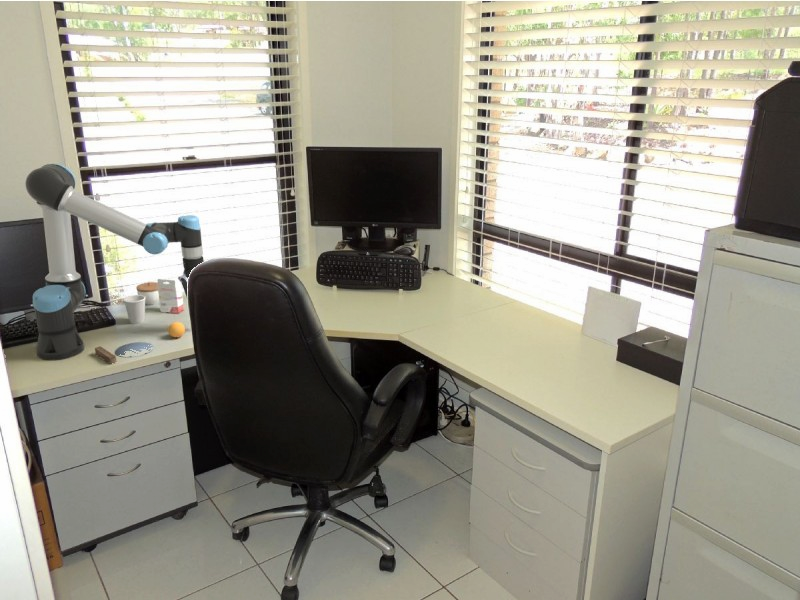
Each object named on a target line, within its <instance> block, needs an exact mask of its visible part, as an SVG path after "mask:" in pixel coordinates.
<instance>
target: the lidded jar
mask: <svg viewBox="0 0 800 600" xmlns="http://www.w3.org/2000/svg"><path fill="white" fill-rule="evenodd" d="M136 292H137V295H143V296H145V297H146V299H145V306H151V305H157V304H160V302H159V293H158V281H156V282H154V281H153V282H152V281H148V282H144V283H140V284H138V285H136Z"/></svg>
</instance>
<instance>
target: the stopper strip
mask: <svg viewBox="0 0 800 600" xmlns="http://www.w3.org/2000/svg"><path fill="white" fill-rule="evenodd" d="M94 351H95V356H97V355H98V356H97V357H99V358H100V357H101V359H102V360H103V359H104V361H105V362H106V361H107V363H108V362H109V363H110V365H113V364H112V363H114V364H116V363H115V362H117V355H116V354H115V355H114V353H112V352H110V351H109V350H107V349H105V348H103V347H102V346H98V347H94ZM109 363H108V364H109Z"/></svg>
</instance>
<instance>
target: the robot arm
mask: <svg viewBox="0 0 800 600" xmlns="http://www.w3.org/2000/svg"><path fill="white" fill-rule="evenodd" d="M76 183H77V182H76V177H75V175H74V173H73V172H72V170H70V169H69V168H68V167H67V166H65V165H63V164H60V163H47V164H44V165H43V166H41V167H38V168H35V169H33V170H31V171H30V173H29V174H28V175H27V176H26V179H25V189H26V192H27V193H28V195H29V196H30V197H31V199H33V200H34V201H36V204H37V205H38V206H39V207H41V209H42V217H43V227H44V235H45V245H46V253H47V263H48V272H49V273H48V274H47V275H46V276H45V277H44V280H45V286H44V287H41V288H38V289H37V290H35V292H33V294H32V306H33V310H34V316H35V320H36V325H37V330H38V337H37V338H38V339H37V344H36V349H35V351H36V356H37V357H38V358H39V359H41V360H45V361H46V360H47V361H57V360H58V361H59V360H64V359H69V358H72V357H75V356H77V355H79V354H81V353H82V352H84V350H85V344H84V340H83V339H82V336H81V335H80V333H79V332H78V330H77V328H76V321H75V315H74V313H75V311H76V310H77V309H78V308H79V307H80V306H81V304H83V302H84V300H85V298H86V293H87V291H86V287H85V285H84V282H83V281H82V278H81V277H82V276H81V274H80V273H79V272H77V270H76V260H75V259H76V258H75V251H74V240H73V239H74V238H73V229H72V227H73V226H72V219H71V218H72V217H71V216H74V217H77V218H79V219H82V220H83V221H86V222H88V223H90V224H93V225H94V226H97V227H99V228H101V229H104V230H106V231H108V232H110V233H112V234H114V235H116V236H119V237H121V238H123V239H125V240H128V241H130V242H132V243H134V244H136V245H138V246H141V247H143V249H144V250H145V251H146V252H147V253H148V254H151V255H159V254H162V253H163V252H164V251H165V250H166V249H167V248H168V245H169V243H170V244H171V243H180V248H181V256H182V257H183V258H182V266H183V272H182V273H183V274H182V275H181V276H178V277H177V280H179V282H180V284H181V287H182V289H183V290H184V294H185V297H186V298H187V283H188V281H187V280H188V277H189V274H190V272H191V270H192V269H193V268H194V267H196V266H197V265H198V264H200V263H202V262H204V261H205V260H204V257H203V256H204V251H203V243H202V242H203V241H202V231H201V223H200V219H199V216H196V215H193V214H189V215H188V214H186V215H181V216H178V218H177V221H174V222H148V223H144V222H142V221H140V220H137V219H135V218H133V217H131V216H129V215H127V214H126V213H123V212H120V211H119V210H116V209H115V208H112V207H110V206H108V205H106V204H103V203H101V202H99V201H97V200H95V199H94V198H91V197H89V196H86V195H85V194H83V193H80V192H78V191H76V190H75V188H76ZM204 263H205V262H204Z"/></svg>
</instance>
